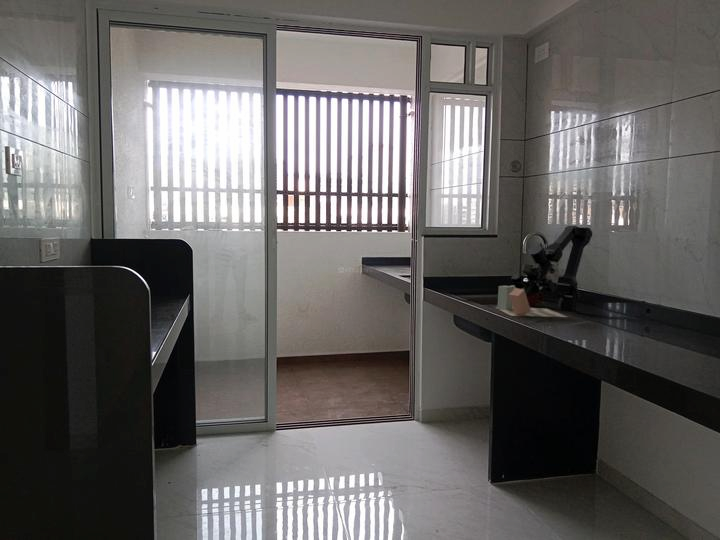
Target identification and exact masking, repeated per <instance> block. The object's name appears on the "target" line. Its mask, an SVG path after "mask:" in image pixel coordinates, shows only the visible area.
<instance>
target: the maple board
mask: <svg viewBox="0 0 720 540" xmlns="http://www.w3.org/2000/svg"><path fill="white" fill-rule="evenodd" d="M497 307H498V306H494V308H496V309H497ZM498 310H500V311H501V312H503V313H505V314H507V315H509V316H513V317H522V316H521V315H515V312H514V309H512V310H502V309H498ZM524 317H547V318H548V317H549V318H550V317H552V318H553V317H554V318H568V316H567V315H564V314H562V313H559V312H556V311H554V310H552V309H549V308H545V307H544V308H543V307H541V308H540V307H530V311H529V312H528V313H527V314H526V315H525V316H524Z"/></svg>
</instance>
